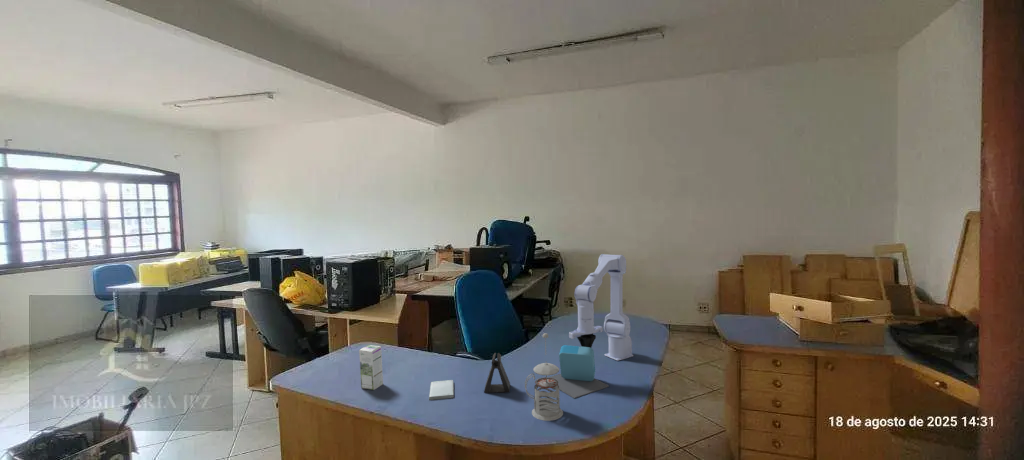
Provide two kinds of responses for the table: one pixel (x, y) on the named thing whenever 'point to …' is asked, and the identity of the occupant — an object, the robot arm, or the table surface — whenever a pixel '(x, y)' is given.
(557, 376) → the mat
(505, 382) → the phone stand
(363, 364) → the syrup box
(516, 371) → the table surface
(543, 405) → the french press
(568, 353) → the data package
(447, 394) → the hard drive
